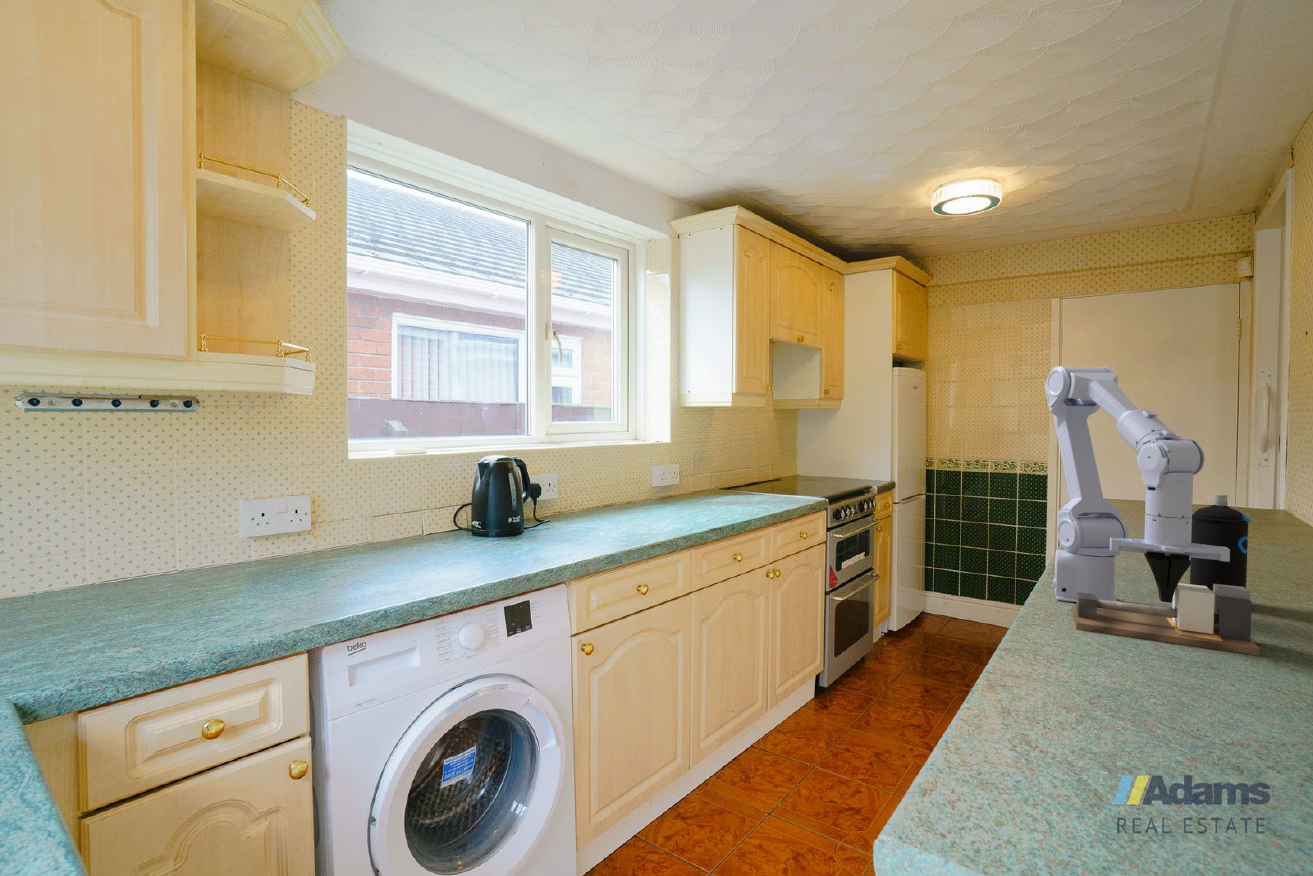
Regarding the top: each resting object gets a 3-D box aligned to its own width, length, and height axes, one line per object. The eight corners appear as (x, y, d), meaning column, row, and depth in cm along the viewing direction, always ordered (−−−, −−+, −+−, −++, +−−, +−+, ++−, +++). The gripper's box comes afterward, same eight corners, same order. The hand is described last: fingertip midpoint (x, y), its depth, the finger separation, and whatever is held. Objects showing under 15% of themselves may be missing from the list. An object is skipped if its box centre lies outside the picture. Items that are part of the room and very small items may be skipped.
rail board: (1076, 628, 100) (1076, 603, 99) (1071, 610, 109) (1071, 586, 109) (1259, 655, 89) (1260, 626, 88) (1236, 632, 98) (1237, 606, 98)
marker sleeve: (1178, 629, 95) (1180, 590, 95) (1172, 620, 100) (1173, 582, 99) (1213, 634, 93) (1214, 594, 93) (1204, 624, 98) (1205, 586, 97)
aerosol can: (1194, 605, 112) (1198, 495, 112) (1181, 594, 120) (1185, 491, 119) (1255, 612, 108) (1259, 498, 108) (1238, 600, 116) (1241, 493, 115)
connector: (1218, 637, 93) (1220, 590, 93) (1210, 627, 97) (1211, 582, 97) (1250, 641, 91) (1252, 593, 91) (1239, 631, 96) (1241, 585, 95)
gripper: (1114, 515, 98) (1112, 600, 98) (1237, 523, 90) (1233, 615, 91) (1109, 509, 104) (1106, 589, 104) (1223, 516, 97) (1220, 602, 97)
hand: (1165, 600), depth 98 cm, fingers closed
